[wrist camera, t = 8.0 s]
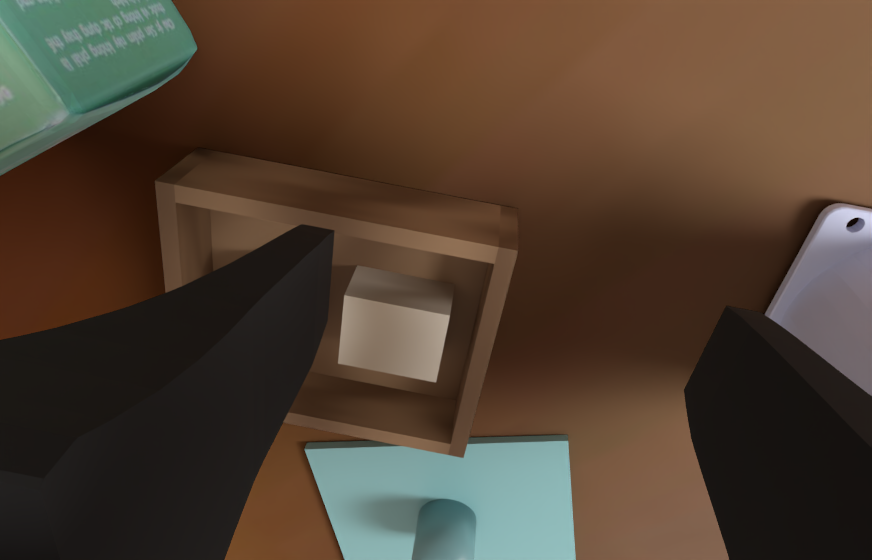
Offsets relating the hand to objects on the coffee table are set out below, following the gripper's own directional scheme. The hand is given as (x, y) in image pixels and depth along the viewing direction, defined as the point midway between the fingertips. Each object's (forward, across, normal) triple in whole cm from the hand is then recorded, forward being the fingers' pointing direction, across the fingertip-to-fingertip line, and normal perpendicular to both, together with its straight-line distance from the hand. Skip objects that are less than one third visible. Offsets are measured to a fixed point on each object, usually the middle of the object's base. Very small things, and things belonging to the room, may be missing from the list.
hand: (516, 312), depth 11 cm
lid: (+10, -1, +19) cm, 22 cm away
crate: (+10, +5, +7) cm, 13 cm away
